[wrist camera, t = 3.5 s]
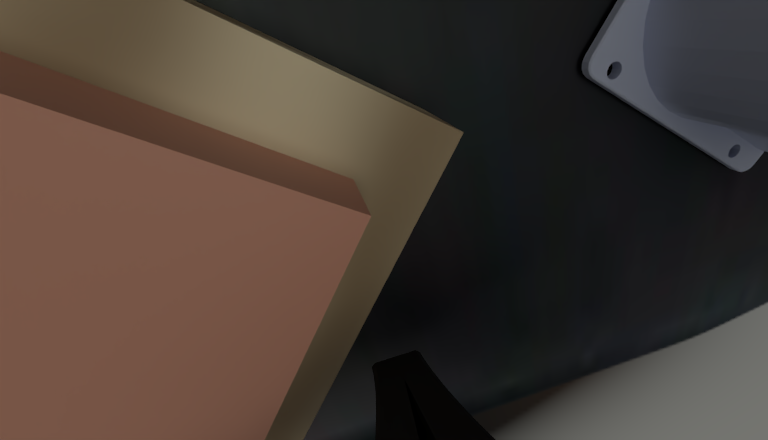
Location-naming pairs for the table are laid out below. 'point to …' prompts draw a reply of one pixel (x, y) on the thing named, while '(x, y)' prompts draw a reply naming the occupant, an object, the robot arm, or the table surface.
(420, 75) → the table surface
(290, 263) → the salmon orange slab
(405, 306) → the table surface
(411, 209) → the wooden block
